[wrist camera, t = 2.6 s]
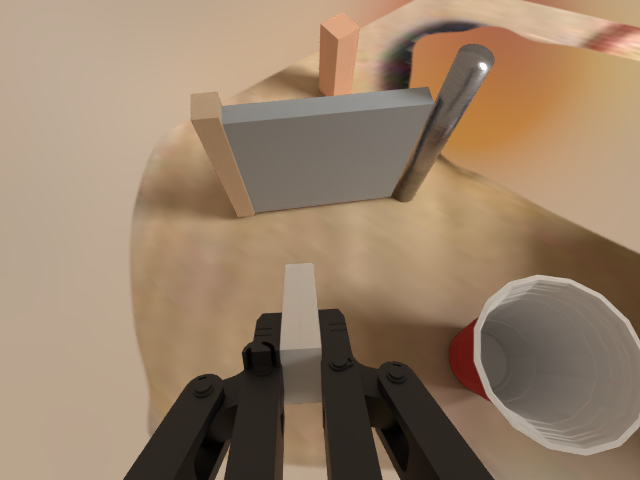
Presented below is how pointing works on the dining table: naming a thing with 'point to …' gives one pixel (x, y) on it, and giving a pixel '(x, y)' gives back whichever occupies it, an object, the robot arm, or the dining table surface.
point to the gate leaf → (310, 146)
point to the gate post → (444, 116)
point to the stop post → (337, 55)
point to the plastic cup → (554, 364)
